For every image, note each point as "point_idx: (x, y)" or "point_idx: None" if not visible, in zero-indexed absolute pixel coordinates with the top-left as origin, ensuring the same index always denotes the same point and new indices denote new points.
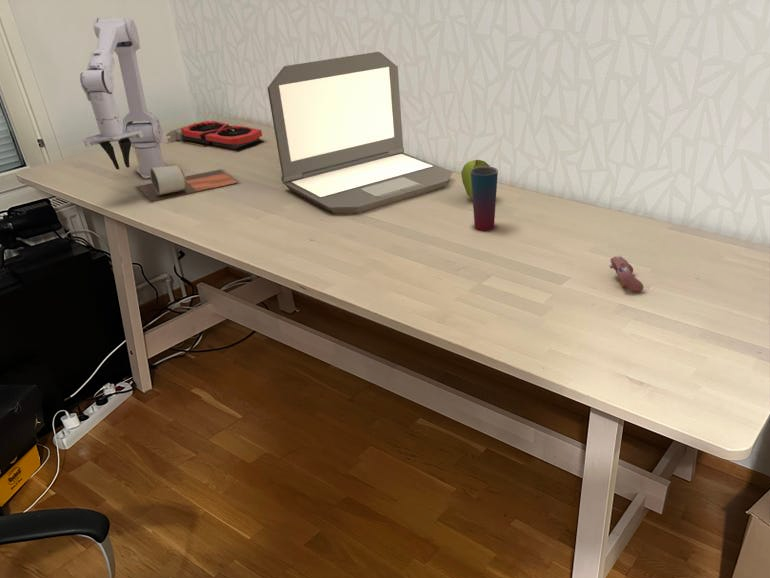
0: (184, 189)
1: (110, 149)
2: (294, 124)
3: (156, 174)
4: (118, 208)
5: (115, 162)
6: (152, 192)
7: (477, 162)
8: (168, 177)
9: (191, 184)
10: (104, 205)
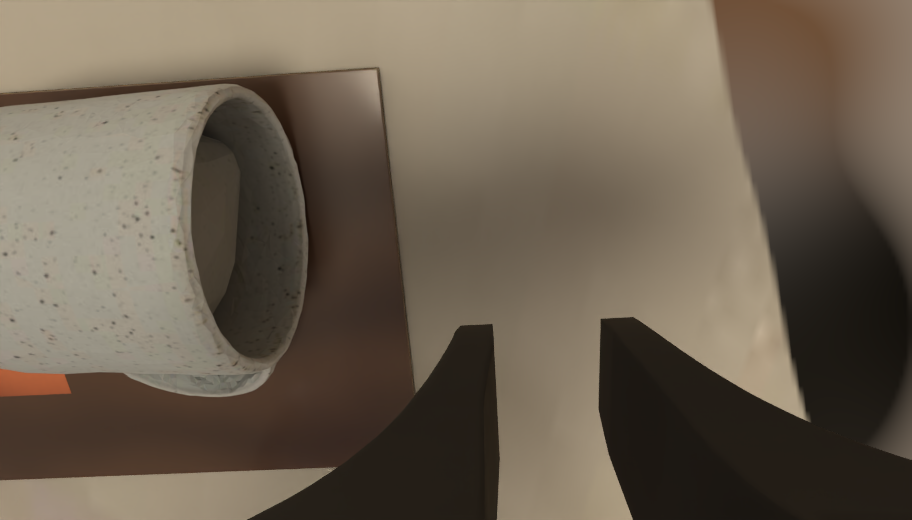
0: None
1: (858, 488)
2: None
3: (174, 153)
4: (665, 64)
5: (668, 352)
6: (338, 276)
7: None
8: (73, 123)
9: None
10: (736, 210)
